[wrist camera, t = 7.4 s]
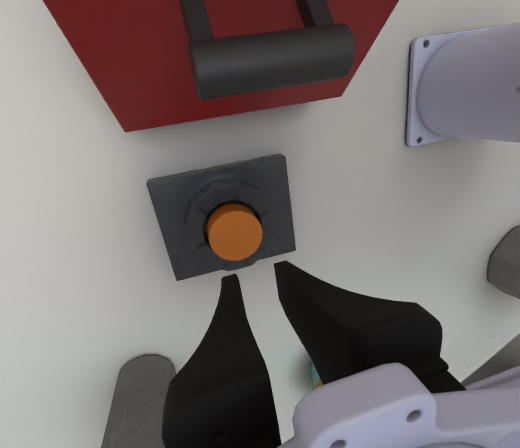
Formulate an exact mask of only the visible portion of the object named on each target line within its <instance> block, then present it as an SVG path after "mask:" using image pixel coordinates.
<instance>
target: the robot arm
mask: <svg viewBox="0 0 520 448" xmlns="http://www.w3.org/2000/svg"><path fill="white" fill-rule="evenodd" d="M424 42H425V47H424V46H423V43H424ZM418 137H419V141H418V142H417V139H418ZM459 137H464V138H474V139H485V140H496V141H507V142H518V143H520V22H517V23H513V24H509V25H506V26H498V27H491V28H484V29H476V30H469V31H461V32H454V33H447V34H439V35H432V36H424V37H419V38H416V39H414V40H413V42H412V45H411V60H410V80H409V100H408V120H407V140H406V143H407V145H408V146H409V147H416V146H421V145H426V144H431V143H435V142H440V141H445V140H450V139H455V138H459ZM274 268H275V275H276V282H277V289H278V295H279V300H280V302H281V305H282V307H283V309H284V312H285V314H286V316H287V318H288V320H289V322H290V323H291V325H292V327H293V328H294V330H295V332H296V334H297V335H298V337H299V339H300V340H301V342H302V344H303V345H304V347H305V349H306V351H307V352H308V354H309V356H310V358H311V360H312V362H313V364H314V366H315V369H316V371H317V373H318V375H319V377H320V380H321V382H322V384H323V385H322V386H319V387H317V388H316V389H314V390H312V391H310V392H308V393H307V394H305V396H304V397H303V398H302V399H301V400H300V401H299V403H298V404H297V405H296V407H295V410H294V415H293V426H294V437H293V438H291V439H289V440H288V441H286V442H285V443H283V444H281V439H280V433H279V432H280V431H279V426H278V420H277V415H276V410H275V404H274V399H273V394H272V388H271V383H270V378H269V374H268V370H267V367H266V364H265V361H264V359H263V357H262V355H261V352H260V350H259V348H258V346H257V343H256V341H255V338H254V336H253V333H252V331H251V328H250V325H249V323H248V320H247V317H246V312H245V307H244V302H243V298H242V293H241V288H240V283H239V279H238V277H237V275H236V274H233V275H229V276H225V277H223V278H222V279H221V281H222V285H221V292H220V297H219V301H218V304H217V308H216V310H215V313H214V316H213V319H212V321H211V324H210V326H209V328H208V330H207V332H206V334H205V336H204V338H203V339H202V341H201V343H200V345H199V346H198V348H197V349H196V351H195V352H194V353H193V355H192V356H191V358H190V359H189V361H188V362H187V363H186V364H185V366H184V367H183V368H182V369H181V370H180V371H179V372H178V373H177V375H176V376H175V377H174V378H173V379H172V380H171V381H170V383H169V387H168V391H167V394H166V399H165V404H164V409H163V417H162V434H161V435H162V440H163V444H164V446H165V448H520V366H517V367H514V368H512V369H509V370H507V371H504V372H501V373H499V374H496V375H494V376H491V377H488V378H486V379H483V380H481V381H478V382H476V383H473V384H470V385H468V386H465V387H464V386H463V385H462V384H461V383H460V382H458V381H457V380H456V379H455V378H454V377H453V376H452V375H451V374H450V373H449V372H448V371H447V370H448V368H449V366H448V364H447V363H446V362H445V361H444V360H443V359H442V358H441V357H440V351H441V344H442V327H441V324H440V322H439V321H438V320H437V319H436V318H435V317H434V316H432V315H431V314H430V313H429V312H428V311H426V310H425V309H424V308H423V307H421V306H420V305H419V304H417V303H413V302H402V301H392V300H386V299H380V298H374V297H370V296H365V295H362V294H358V293H354V292H351V291H347V290H345V289H342V288H339V287H336V286H334V285H331V284H329V283H327V282H324V281H322V280H320V279H318V278H316V277H314V276H312V275H310V274H308V273H307V272H305V271H303V270H301V269H300V268H298V267H296V266H294V265H293V264H291V263H289V262H288V261H282V262H278V263H274Z"/></svg>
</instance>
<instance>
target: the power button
mask: <svg viewBox="0 0 520 448" xmlns="http://www.w3.org/2000/svg"><path fill="white" fill-rule="evenodd" d="M207 234H208V238H209V243H210V246H211V248H212V250H213V251H214V252H215V253H216V254H217V255H218V256H219V257H221V258H223V259H226V260H230V261H237V260H242V259H245V258H247V257H249V256H250V255H252V254H253V253H254V252H255V251H256V250H257V249H258V247H259V245H260V243H261V240H262V227H261V224H260V223H259V221H258V219H257V218H256V217H255V215H254V214H253V213H252V211H251V210H250V209H248V208H247V207H245V206H243V205H240V204H227V205H224V206H221V207H220V208H218V209H217V210H215V211H214V212H213V214H212V215H211V216H210V218H209V220H208V224H207Z"/></svg>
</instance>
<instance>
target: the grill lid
mask: <svg viewBox="0 0 520 448" xmlns="http://www.w3.org/2000/svg"><path fill="white" fill-rule="evenodd" d="M398 1H399V0H43V2H44V3H45V5H46V7H47V8H48V10H49V11H50V13H51V15H52V16H53V18H54V19H55V21H56V23H57V24H58V26H59V27H60V29H61V31H62V32H63V34H64V35H65V37H66V39H67V40H68V42H69V43H70V45H71V47H72V48H73V50H74V52H75V53H76V55H77V56H78V58H79V60H80V61H81V63H82V64H83V66H84V68H85V69H86V71H87V72H88V74H89V76H90V77H91V79H92V80H93V82H94V84H95V85H96V87H97V88H98V90H99V92H100V93H101V95H102V96H103V98H104V100H105V101H106V103H107V104H108V106H109V108H110V109H111V111H112V112H113V114H114V116H115V117H116V119H117V120H118V122H119V124H120V125H121V127H122V128H123V130H124V132H131V131H137V130H143V129H149V128H155V127H161V126H167V125H173V124H179V123H185V122H191V121H197V120H203V119H209V118H215V117H221V116H227V115H233V114H239V113H245V112H251V111H257V110H263V109H269V108H275V107H281V106H287V105H293V104H299V103H305V102H311V101H317V100H323V99H329V98H335V97H340V96H342V94H343V93H344V91H345V89H346V88H347V86H348V84H349V83H350V81H351V79H352V78H353V76H354V74H355V73H356V71H357V69H358V68H359V66H360V64H361V63H362V61H363V59H364V58H365V56H366V54H367V53H368V51H369V49H370V48H371V46H372V44H373V43H374V41H375V39H376V38H377V36H378V34H379V33H380V31H381V29H382V28H383V26H384V24H385V23H386V21H387V19H388V18H389V16H390V14H391V13H392V11H393V9H394V8H395V6H396V4H397V3H398Z"/></svg>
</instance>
